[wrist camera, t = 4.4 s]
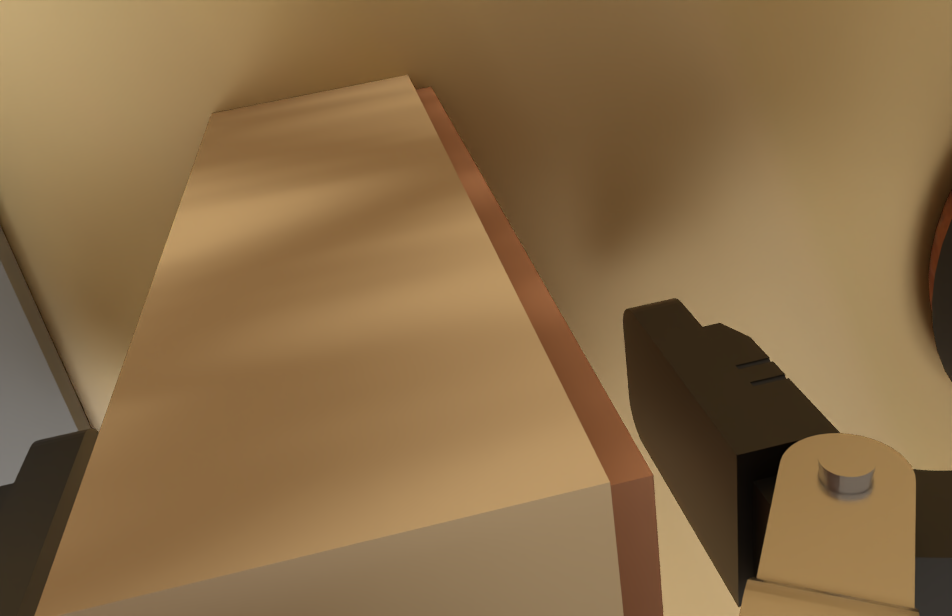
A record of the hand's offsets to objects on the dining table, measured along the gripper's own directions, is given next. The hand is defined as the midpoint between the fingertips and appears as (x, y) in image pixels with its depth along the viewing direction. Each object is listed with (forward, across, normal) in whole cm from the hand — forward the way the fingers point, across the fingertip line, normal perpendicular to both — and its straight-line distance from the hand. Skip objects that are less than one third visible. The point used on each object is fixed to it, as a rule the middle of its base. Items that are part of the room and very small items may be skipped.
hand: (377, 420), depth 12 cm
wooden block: (+3, 0, 0) cm, 3 cm away
